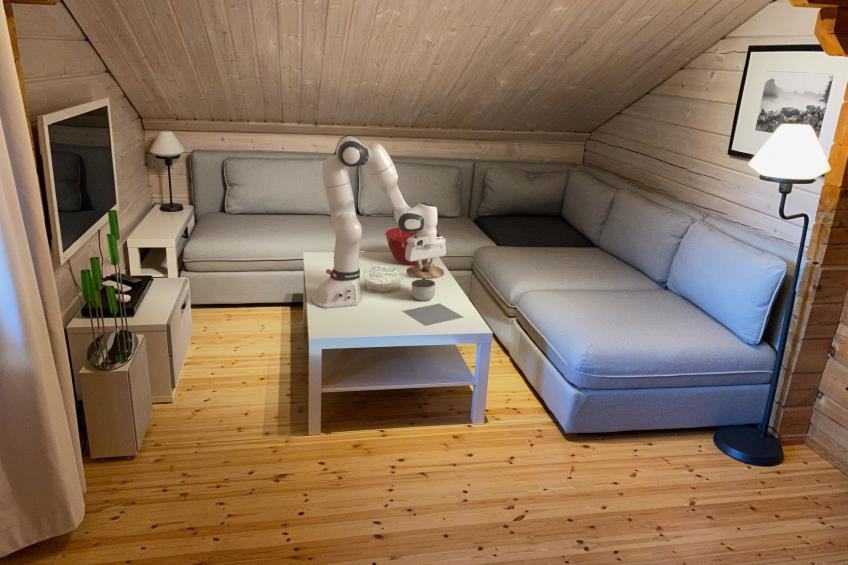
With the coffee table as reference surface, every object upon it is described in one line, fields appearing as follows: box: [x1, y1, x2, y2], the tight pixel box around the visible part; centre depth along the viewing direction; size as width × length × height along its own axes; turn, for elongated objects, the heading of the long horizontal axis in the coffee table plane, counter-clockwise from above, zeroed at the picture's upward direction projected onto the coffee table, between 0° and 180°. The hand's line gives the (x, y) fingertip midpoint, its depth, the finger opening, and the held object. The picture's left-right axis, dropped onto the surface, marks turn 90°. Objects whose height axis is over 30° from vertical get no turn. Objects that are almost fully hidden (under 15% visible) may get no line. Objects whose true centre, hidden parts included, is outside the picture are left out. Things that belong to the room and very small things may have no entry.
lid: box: [406, 260, 445, 280], centre depth 302 cm, size 17×17×5 cm
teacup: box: [411, 278, 436, 302], centre depth 305 cm, size 14×11×8 cm
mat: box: [402, 303, 464, 327], centre depth 288 cm, size 20×18×1 cm
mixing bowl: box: [385, 227, 440, 266], centre depth 355 cm, size 28×28×15 cm
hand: (425, 267), depth 302 cm, fingers closed on lid, 3 cm apart
